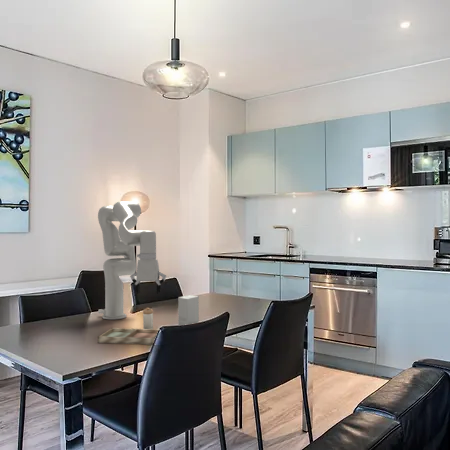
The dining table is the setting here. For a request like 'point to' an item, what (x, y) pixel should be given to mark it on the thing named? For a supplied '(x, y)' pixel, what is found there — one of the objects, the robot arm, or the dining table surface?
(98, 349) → the dining table surface
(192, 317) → the skincare box
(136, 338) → the sorting tray
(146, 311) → the cylinder
